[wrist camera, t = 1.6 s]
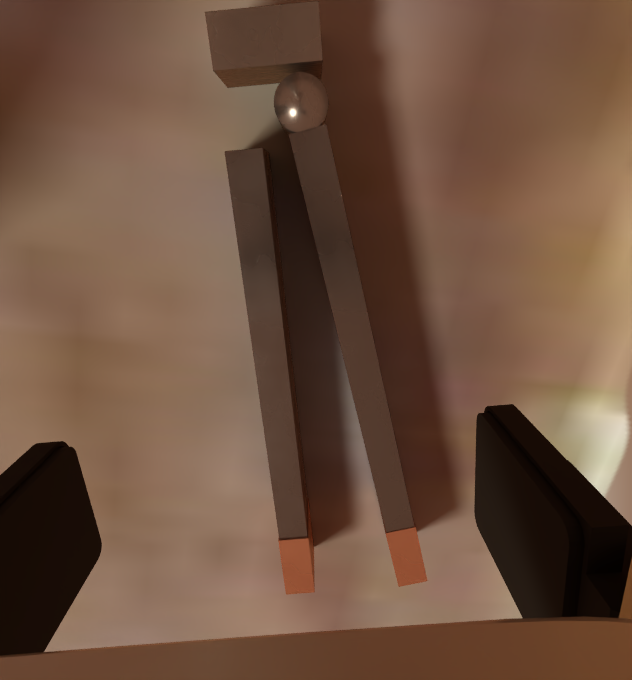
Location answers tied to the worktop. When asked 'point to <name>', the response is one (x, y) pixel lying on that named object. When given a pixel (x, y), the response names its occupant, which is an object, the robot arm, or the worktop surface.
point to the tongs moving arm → (349, 309)
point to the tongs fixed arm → (270, 254)
